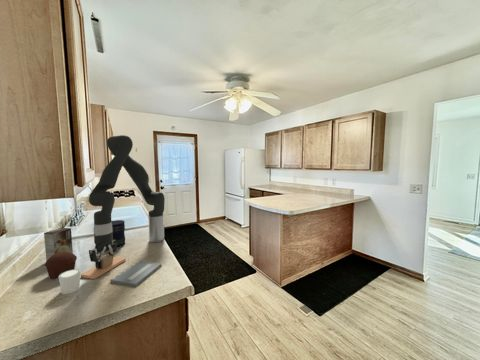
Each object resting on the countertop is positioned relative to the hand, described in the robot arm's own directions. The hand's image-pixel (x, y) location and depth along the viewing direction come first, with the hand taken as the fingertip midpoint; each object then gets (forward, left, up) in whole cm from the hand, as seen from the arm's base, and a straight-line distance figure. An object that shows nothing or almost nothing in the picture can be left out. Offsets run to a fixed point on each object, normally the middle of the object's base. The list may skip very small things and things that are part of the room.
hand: (104, 264), depth 98 cm
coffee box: (-2, -32, -2) cm, 32 cm away
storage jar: (-25, -18, -2) cm, 31 cm away
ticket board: (0, +19, -2) cm, 19 cm away
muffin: (+9, -15, -2) cm, 17 cm away
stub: (0, 0, -2) cm, 2 cm away
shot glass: (+17, +1, -2) cm, 17 cm away
